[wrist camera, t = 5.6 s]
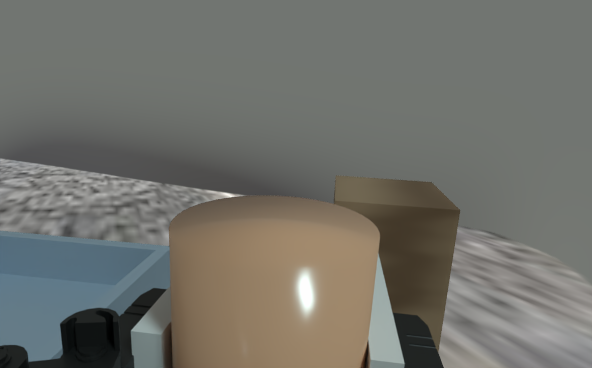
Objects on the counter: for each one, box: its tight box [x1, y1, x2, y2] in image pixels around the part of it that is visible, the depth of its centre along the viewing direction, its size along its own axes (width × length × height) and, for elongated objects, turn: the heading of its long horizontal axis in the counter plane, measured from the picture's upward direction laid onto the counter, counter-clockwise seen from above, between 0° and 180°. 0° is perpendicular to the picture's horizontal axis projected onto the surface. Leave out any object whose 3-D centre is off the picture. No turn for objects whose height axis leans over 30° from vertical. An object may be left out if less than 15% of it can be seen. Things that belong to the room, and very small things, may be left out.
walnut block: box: [334, 176, 460, 351], centre depth 19 cm, size 5×5×10 cm
